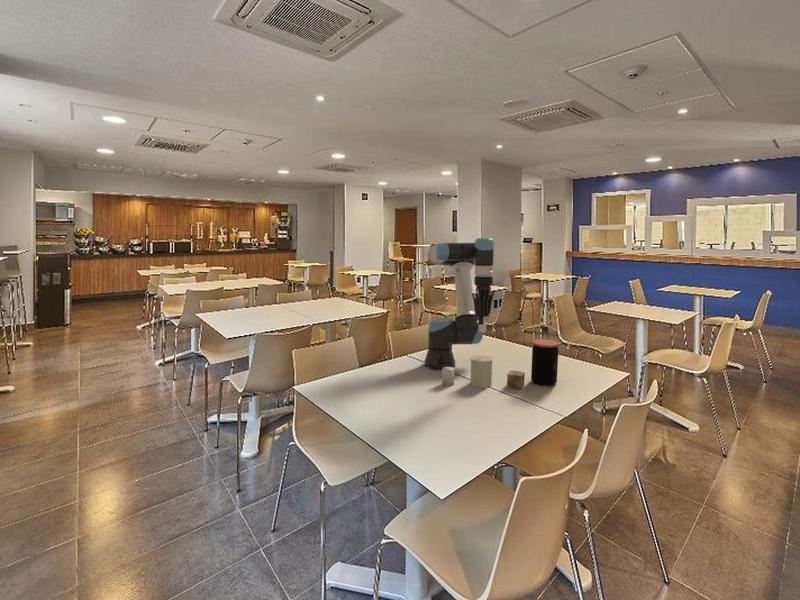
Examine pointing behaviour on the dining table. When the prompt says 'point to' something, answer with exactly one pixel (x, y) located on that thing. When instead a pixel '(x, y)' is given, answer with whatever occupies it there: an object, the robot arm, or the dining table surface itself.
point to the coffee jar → (544, 362)
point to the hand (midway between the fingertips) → (482, 331)
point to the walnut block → (515, 379)
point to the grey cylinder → (448, 376)
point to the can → (481, 371)
